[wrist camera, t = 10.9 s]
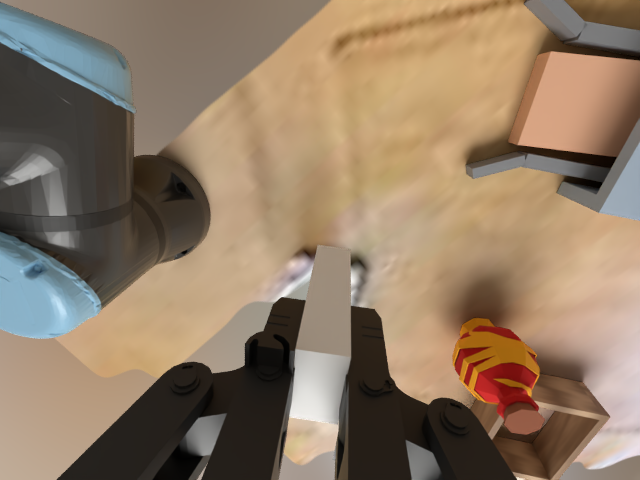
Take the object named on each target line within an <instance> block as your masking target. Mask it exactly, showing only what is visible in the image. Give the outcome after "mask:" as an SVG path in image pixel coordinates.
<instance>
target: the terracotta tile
mask: <svg viewBox="0 0 640 480" xmlns="http://www.w3.org/2000/svg"><path fill="white" fill-rule="evenodd" d="M639 118H640V61H638V60H628V59H619V58H609V57H600V56H590V55H581V54H571V53H562V52H552V51H551V52H547V53H543V54H539V55H538V56H537V59H536V62H535V64H534V67H533V70H532V73H531V76H530V79H529V82H528V85H527V88H526V91H525V93H524V96H523V99H522V102H521V105H520V108H519V111H518V114H517V117H516V120H515V123H514V125H513V128H512V131H511V134H510V137H509V140H508V142H509V143H513V144H517V145H523V146H531V147H539V148H548V149H556V150H564V151H572V152H580V153H588V154H596V155H604V156H612V157H618V155H619V154H620V152H621V150H622V148H623V146H624V145H625V143H626V141H627V139H628V138H629V136H630V134H631V132H632V130H633V129H634V127H635V125H636V123H637V121H638V120H639Z"/></svg>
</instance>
